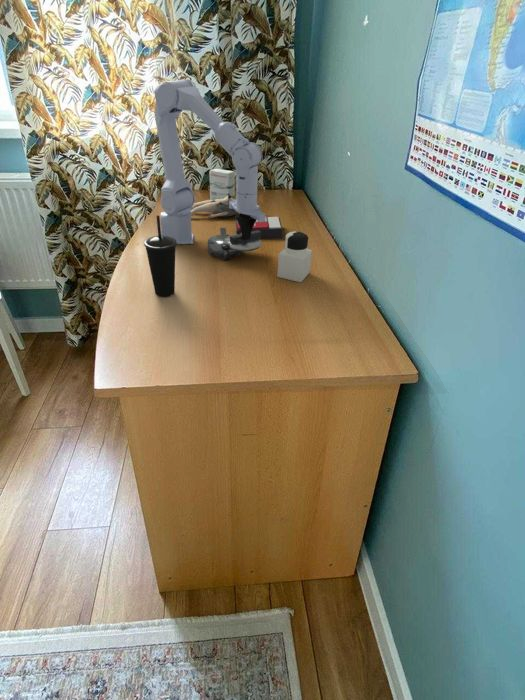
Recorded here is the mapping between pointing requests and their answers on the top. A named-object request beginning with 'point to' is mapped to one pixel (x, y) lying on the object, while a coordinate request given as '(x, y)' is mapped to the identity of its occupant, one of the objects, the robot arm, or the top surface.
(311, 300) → the top surface
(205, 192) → the top surface
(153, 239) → the drinking cup
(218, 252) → the pot
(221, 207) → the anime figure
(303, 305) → the top surface
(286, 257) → the medicine bottle
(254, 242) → the lid
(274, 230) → the calculator
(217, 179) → the ink box
